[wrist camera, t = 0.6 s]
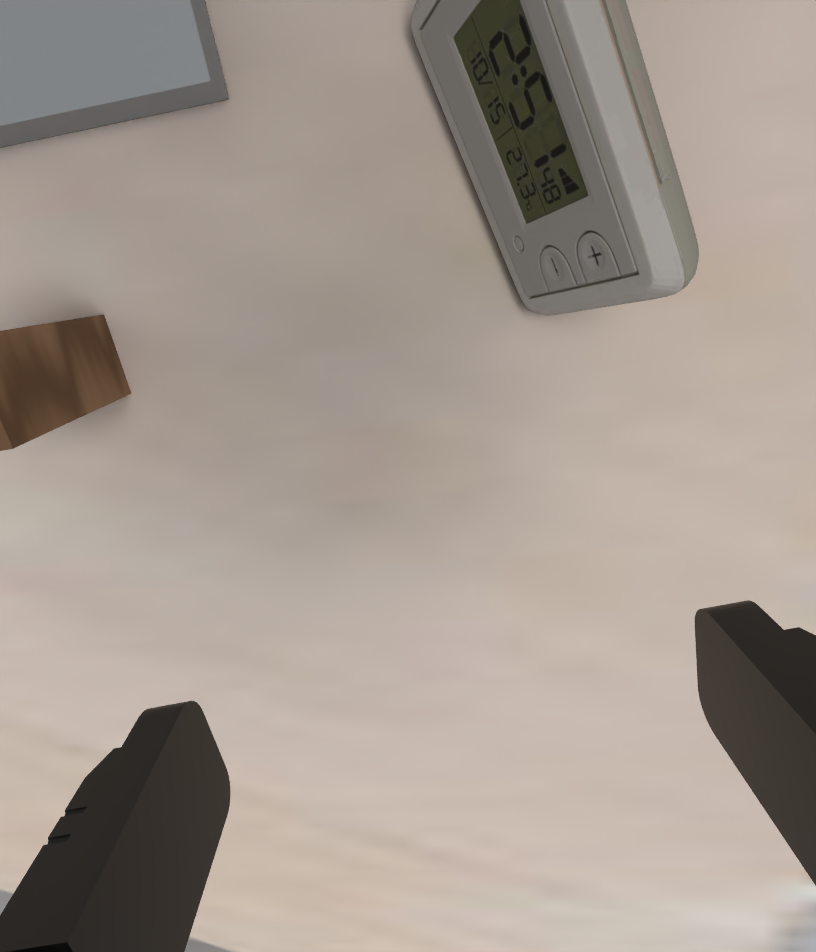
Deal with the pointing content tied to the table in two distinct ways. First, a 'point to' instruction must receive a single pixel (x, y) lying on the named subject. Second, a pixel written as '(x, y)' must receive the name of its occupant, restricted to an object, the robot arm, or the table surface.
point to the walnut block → (55, 376)
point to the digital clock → (562, 147)
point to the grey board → (101, 63)
